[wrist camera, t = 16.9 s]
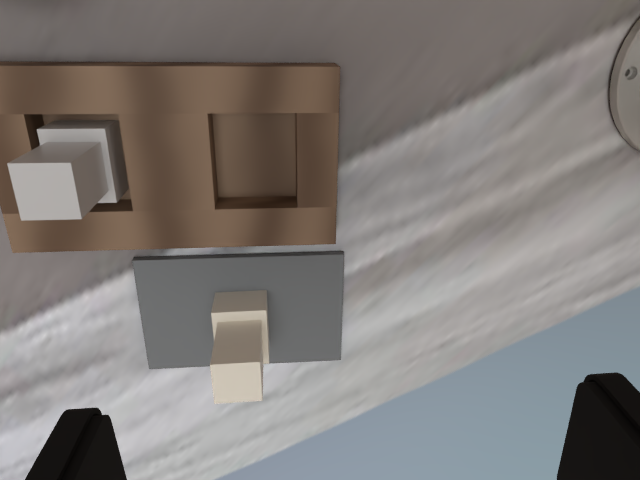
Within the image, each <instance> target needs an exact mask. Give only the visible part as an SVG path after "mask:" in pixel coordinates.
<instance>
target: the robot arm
mask: <svg viewBox="0 0 640 480" xmlns="http://www.w3.org/2000/svg"><path fill="white" fill-rule="evenodd" d="M610 106H611V112H612V116H613V119H614V122H615V125H616V127H617V128H618V130H619V132H620V134H621V135H622V137H623V138H624V139H625V140H626V141H627V142H628V143H629V144H630V145H631V146H632V147H634V148H635V149H637V150H638V151H640V19H639V20H638V21H637V22H636V23H635V25H634V26H633V28H632V29H631V31H630V33H629V34H628V36H627V37H626V39H625V40H624V42H623V45H622V47H621V49H620V51H619V54H618V56H617V58H616V61H615V65H614V68H613V72H612V76H611V84H610ZM25 480H127V479H126V475H125V471H124V467H123V463H122V460H121V456H120V452H119V448H118V445H117V441H116V437H115V433H114V429H113V426H112V422H111V419H110V417H109V415H102V413H101V411H100V410H99V409H98V408H84V409H69V410H66V411H64V412H63V414H62V415H61V417H60V418H59V420H58V422H57V424H56V426H55V427H54V429H53V431H52V433H51V434H50V436H49V438H48V440H47V441H46V443H45V445H44V447H43V449H42V450H41V452H40V454H39V456H38V457H37V459H36V461H35V463H34V464H33V466H32V468H31V470H30V472H29V473H28V475H27V477H26V479H25ZM557 480H640V392H639V391H638V390H637V389H636V388H635V387H634V386H633V385H632V384H631V383H630V382H629V381H628V380H627V379H626V378H625V377H624V376H623V375H622V374H619V373H603V374H590V375H587V376H586V378H585V380H584V382H582V383H580V384H578V386H577V389H576V394H575V398H574V403H573V407H572V412H571V417H570V421H569V425H568V430H567V434H566V438H565V443H564V447H563V452H562V456H561V461H560V465H559V470H558V474H557Z"/></svg>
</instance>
